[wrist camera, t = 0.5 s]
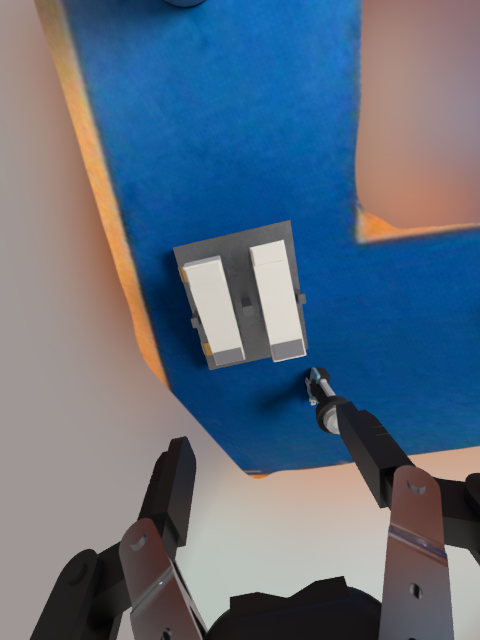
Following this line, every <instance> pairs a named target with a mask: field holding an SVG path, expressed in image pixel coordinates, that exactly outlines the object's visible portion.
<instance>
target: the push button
mask: <svg viewBox="0 0 480 640" xmlns="http://www.w3.org/2000/svg"><path fill="white" fill-rule="evenodd" d="M329 380H330V375H329V374H328V373H327V371H326V370H325V369H324V368H311V373H310V378H309V380H308V378H307V377H306V381H305V383H306V385H307V386H308V387H307V392H308V394H309V396H310V399H309V401H311V405H316V402H317V403H318V405H317V407H316V420H317V423H318V425H319V427H320V428H321V429H322V430H323V431H325V432H327V433H334V434H340V433H339V430H338V424H337V415H336V404H340V403H345V402H349V401H348V400H347V399H346V398H344V397H340V396H336V395H335V394H334V392H333V391H332V389H331V387H330V385H329ZM312 402H315V403H312ZM322 419H323V420H322Z"/></svg>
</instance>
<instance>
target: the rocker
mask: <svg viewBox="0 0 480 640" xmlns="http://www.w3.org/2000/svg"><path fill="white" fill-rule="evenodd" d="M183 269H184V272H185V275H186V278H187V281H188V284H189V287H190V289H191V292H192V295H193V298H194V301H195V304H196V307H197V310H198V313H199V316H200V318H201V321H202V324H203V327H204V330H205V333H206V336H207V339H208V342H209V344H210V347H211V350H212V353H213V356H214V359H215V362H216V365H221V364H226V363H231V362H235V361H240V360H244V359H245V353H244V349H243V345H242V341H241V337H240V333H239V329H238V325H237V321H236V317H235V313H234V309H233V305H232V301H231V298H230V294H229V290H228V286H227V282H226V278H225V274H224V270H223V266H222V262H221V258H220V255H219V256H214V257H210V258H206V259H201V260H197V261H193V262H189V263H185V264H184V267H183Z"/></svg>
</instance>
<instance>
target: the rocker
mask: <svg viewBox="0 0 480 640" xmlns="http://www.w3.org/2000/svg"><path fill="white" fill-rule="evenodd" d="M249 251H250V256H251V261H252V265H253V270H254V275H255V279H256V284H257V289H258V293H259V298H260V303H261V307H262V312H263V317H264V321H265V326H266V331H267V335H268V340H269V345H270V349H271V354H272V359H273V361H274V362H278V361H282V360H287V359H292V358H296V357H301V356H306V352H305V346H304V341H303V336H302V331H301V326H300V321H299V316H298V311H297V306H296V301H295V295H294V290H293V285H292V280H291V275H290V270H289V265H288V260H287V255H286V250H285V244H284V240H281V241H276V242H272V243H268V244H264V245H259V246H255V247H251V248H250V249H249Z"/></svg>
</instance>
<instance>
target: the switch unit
mask: <svg viewBox="0 0 480 640" xmlns="http://www.w3.org/2000/svg"><path fill="white" fill-rule="evenodd" d="M281 240H284V244H285V250H286V255H287V260H288V265H289V270H290V275H291V280H292V285H293V290H294V295H295V301H296V306H297V311H298V316H299V321H300V326H301V331H302V336H303V341H304V346H305V349H308V345H307V337H306V330H305V323H304V316H303V309H302V304H305V303H306V299H305V293H303V292H302V291H300V287H299V280H298V272H297V265H296V258H295V251H294V244H293V236H292V229H291V222H290V220H288V221H284V222H280V223H276V224H271V225H267V226H263V227H259V228H254V229H250V230H246V231H242V232H237V233H233V234H229V235H225V236H220V237H216V238H212V239H208V240H203V241H199V242H195V243H191V244H186V245H182V246H178V247H174V248H173V250H174V254H175V257H176V260H177V264H178V270H179V273H180V276H181V280H182V282H183V283H184V287H185V290H186V293H187V297H188V300H189V303H190V307H191V310H192V313H193V315H192V317H191V322H192V325H193V328H197V330H198V333H199V336H200V340H201V345H202V349H203V352H204V355H205V356H206V359H207V363H208V366H209V369H210V370H213V369H217V368H222V367H227V366H231V365H236V364H240V363H245V362H250V361H254V360H259V359H264V358H268V357H272V354H271V349H270V345H269V340H268V335H267V331H266V326H265V321H264V317H263V312H262V307H261V303H260V298H259V293H258V289H257V284H256V279H255V275H254V270H253V265H252V261H251V256H250V251H249V249H250V248H251V247H255V246H259V245H264V244H268V243H272V242H276V241H281ZM219 255H220V258H221V262H222V266H223V270H224V274H225V278H226V282H227V286H228V290H229V294H230V298H231V301H232V305H233V309H234V313H235V317H236V321H237V325H238V329H239V333H240V337H241V341H242V345H243V349H244V353H245V359H244V360H240V361H235V362H231V363H226V364H221V365H216V362H215V359H214V356H213V353H212V350H211V347H210V344H209V342H208V339H207V336H206V333H205V330H204V327H203V324H202V321H201V318H200V316H199V313H198V310H197V307H196V304H195V301H194V298H193V295H192V292H191V289H190V287H189V284H188V281H187V278H186V275H185V272H184V269H183V267H184V264H185V263H189V262H193V261H197V260H201V259H206V258H210V257H214V256H219Z"/></svg>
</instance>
